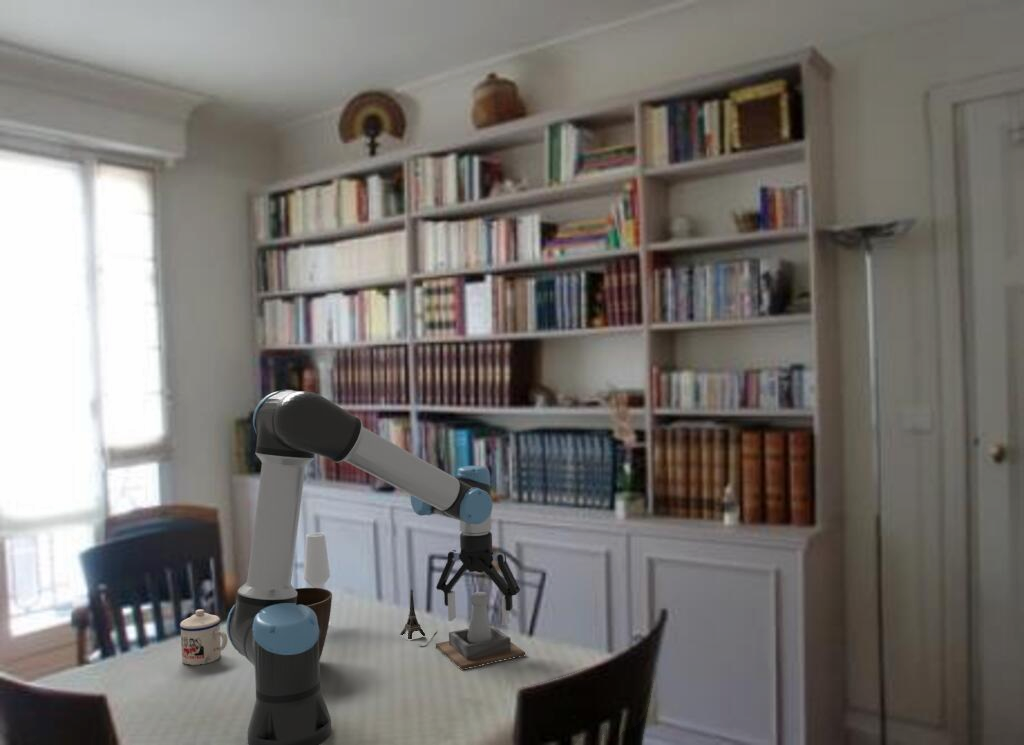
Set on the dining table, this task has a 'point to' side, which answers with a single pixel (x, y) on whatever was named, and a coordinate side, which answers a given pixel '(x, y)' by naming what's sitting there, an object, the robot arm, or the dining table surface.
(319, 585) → the champagne flute
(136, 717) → the dining table surface
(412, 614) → the eiffel tower figurine
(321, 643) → the plant pot
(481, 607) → the salt shaker
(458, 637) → the socket stand
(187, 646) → the teacup with lid
